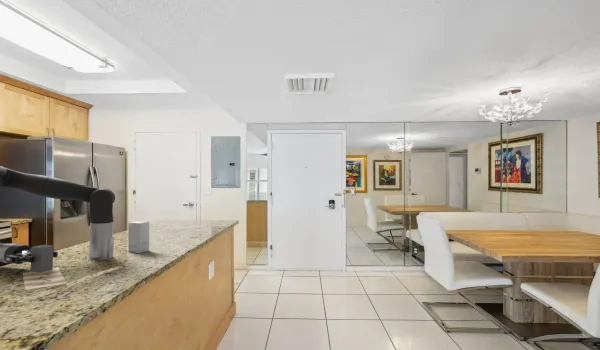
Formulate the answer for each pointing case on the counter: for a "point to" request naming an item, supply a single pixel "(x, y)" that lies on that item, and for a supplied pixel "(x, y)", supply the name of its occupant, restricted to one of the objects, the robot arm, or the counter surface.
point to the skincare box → (138, 236)
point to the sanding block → (42, 259)
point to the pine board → (44, 279)
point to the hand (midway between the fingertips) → (46, 256)
